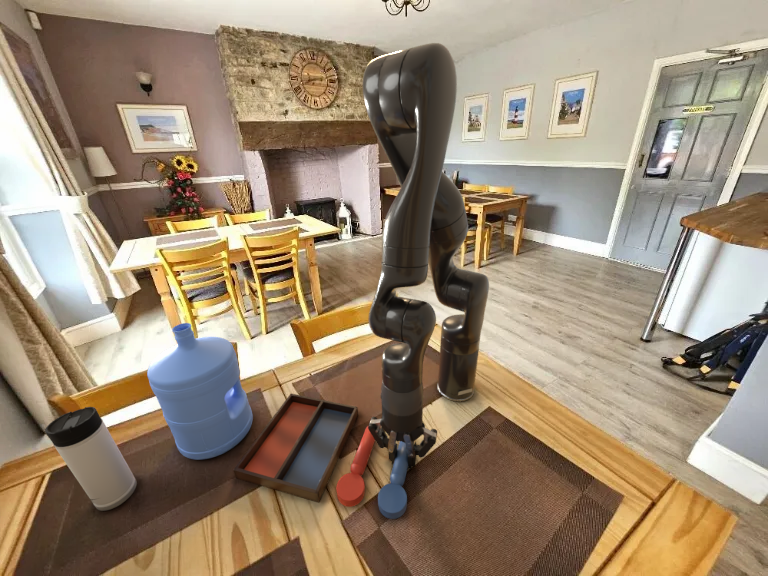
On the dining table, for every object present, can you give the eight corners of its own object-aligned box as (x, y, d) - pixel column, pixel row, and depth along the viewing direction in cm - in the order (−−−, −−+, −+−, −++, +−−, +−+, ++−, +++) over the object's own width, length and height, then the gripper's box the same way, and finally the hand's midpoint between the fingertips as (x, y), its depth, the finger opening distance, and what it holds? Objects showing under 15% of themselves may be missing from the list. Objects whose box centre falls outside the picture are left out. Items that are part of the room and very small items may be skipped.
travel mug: (90, 520, 55) (34, 440, 46) (101, 487, 60) (52, 410, 52) (133, 502, 57) (87, 424, 49) (139, 472, 63) (99, 397, 54)
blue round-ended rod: (396, 436, 69) (396, 427, 68) (420, 441, 68) (420, 432, 66) (374, 514, 54) (373, 504, 53) (403, 523, 53) (403, 513, 52)
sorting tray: (292, 401, 79) (290, 393, 78) (358, 414, 75) (357, 406, 74) (236, 478, 61) (233, 469, 60) (318, 502, 56) (317, 493, 55)
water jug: (187, 477, 62) (136, 363, 50) (172, 429, 72) (127, 326, 61) (264, 432, 71) (236, 328, 59) (240, 395, 82) (213, 301, 70)
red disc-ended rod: (362, 428, 71) (362, 419, 70) (384, 433, 70) (384, 424, 69) (332, 502, 56) (331, 492, 55) (359, 510, 55) (358, 500, 54)
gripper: (443, 390, 57) (439, 454, 65) (371, 378, 61) (375, 439, 68) (438, 422, 51) (434, 489, 58) (358, 406, 54) (363, 471, 62)
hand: (402, 462), depth 63 cm, fingers closed on blue round-ended rod, 2 cm apart
